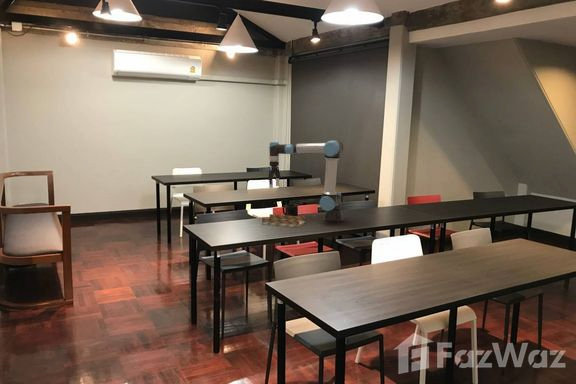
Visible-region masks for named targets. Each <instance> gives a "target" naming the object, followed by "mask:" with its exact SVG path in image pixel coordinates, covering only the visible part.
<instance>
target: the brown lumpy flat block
mask: <svg viewBox="0 0 576 384" xmlns="http://www.w3.org/2000/svg"><path fill="white" fill-rule="evenodd" d="M305 224H306V216H299V215H298V216H286V215H284V214H272V213H271V214H269V217H262V218H261V225H268V226H269V225H270V226H280V227H287V228H288V227H290V228H300V227H301V226H303V225H305Z"/></svg>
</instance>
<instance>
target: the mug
mask: <svg viewBox="0 0 576 384" xmlns="http://www.w3.org/2000/svg"><path fill="white" fill-rule="evenodd" d="M281 210H282V213H283V214H282V215H286V216H299V204H296V203H286V204H284V206H283V207H282V209H281Z"/></svg>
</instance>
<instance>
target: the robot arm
mask: <svg viewBox="0 0 576 384" xmlns="http://www.w3.org/2000/svg"><path fill="white" fill-rule="evenodd" d="M268 148H269V157H268V158H269V166H270V167H269V170H268V176H267V181H269V183H268V184H269V186H268V187H269V189H273V187H274V185H273V183H274V181H273V178H274V177H275V187H280V179H281V174H280V173H281V172H280V167H279V166H280V155H292V154H303V153H304V154H305V153H306V154H307V153H308V154H309V153H311V154H312V153H313V154H314V153H317V154H318V153H323V154H324V159H325V174H324V189H323V191H322V193H321V197H320V200H319V207H320V208H321V209H322V210H323V211H326V212H325V214H324V217H323V220H324V221H325V222H330V223H340V222H343V221H344V217H343V213H342V193H341V192H339V191H338V192H337V191H336V186H337V172H338V161H339V160H340V158H341V154H342V153H343V152H344V144H343V142H342V141H341V140H338V139H334V140H333V139H332V140H328V141H327V142H313V143H311V142H310V143H307V142H306V143H288V144H287V143H286V144H284V143H283V144H280V143H279V141H269V146H268Z"/></svg>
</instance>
